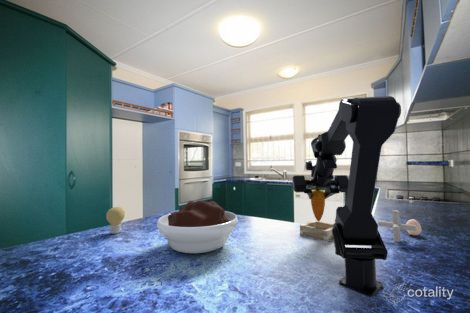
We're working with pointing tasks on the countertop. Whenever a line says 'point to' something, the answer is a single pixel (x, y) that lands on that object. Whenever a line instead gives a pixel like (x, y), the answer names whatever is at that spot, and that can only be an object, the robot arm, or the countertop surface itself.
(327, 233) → the socket block
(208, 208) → the bowl of chocolate chunks
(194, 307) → the countertop surface
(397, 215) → the pipe connector
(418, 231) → the egg
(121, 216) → the light bulb
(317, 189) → the carrot
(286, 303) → the countertop surface
